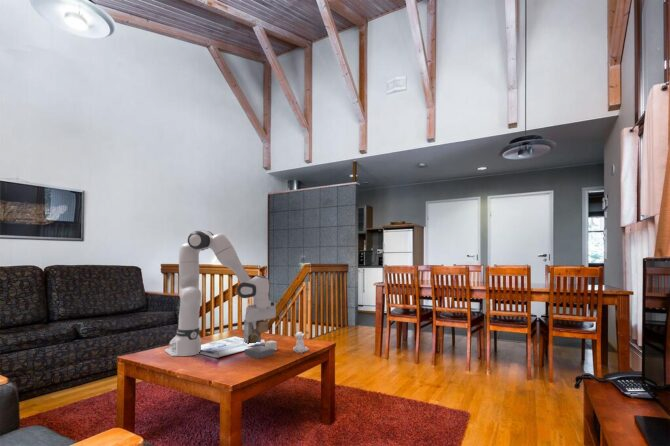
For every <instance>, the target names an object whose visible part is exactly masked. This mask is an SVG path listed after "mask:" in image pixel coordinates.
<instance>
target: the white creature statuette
mask: <svg viewBox="0 0 670 446" xmlns="http://www.w3.org/2000/svg"><path fill="white" fill-rule="evenodd" d="M304 335H305V334H304V333H303V332H302V331H297V332H296V333H295V334H294V337H295V339H297V340H296V342H295V346H293V348H292V351H293V352H294V353H296V354H303V352H304V353H307V352H308V351H309V348H310V347H308V346H305V341H304Z"/></svg>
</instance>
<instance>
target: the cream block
mask: <svg viewBox="0 0 670 446" xmlns="http://www.w3.org/2000/svg"><path fill="white" fill-rule="evenodd" d="M264 346H265V347H268V348H272V349H275V351H278V341H275V340H271V339H270V340H268V341H265V342H264Z"/></svg>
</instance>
